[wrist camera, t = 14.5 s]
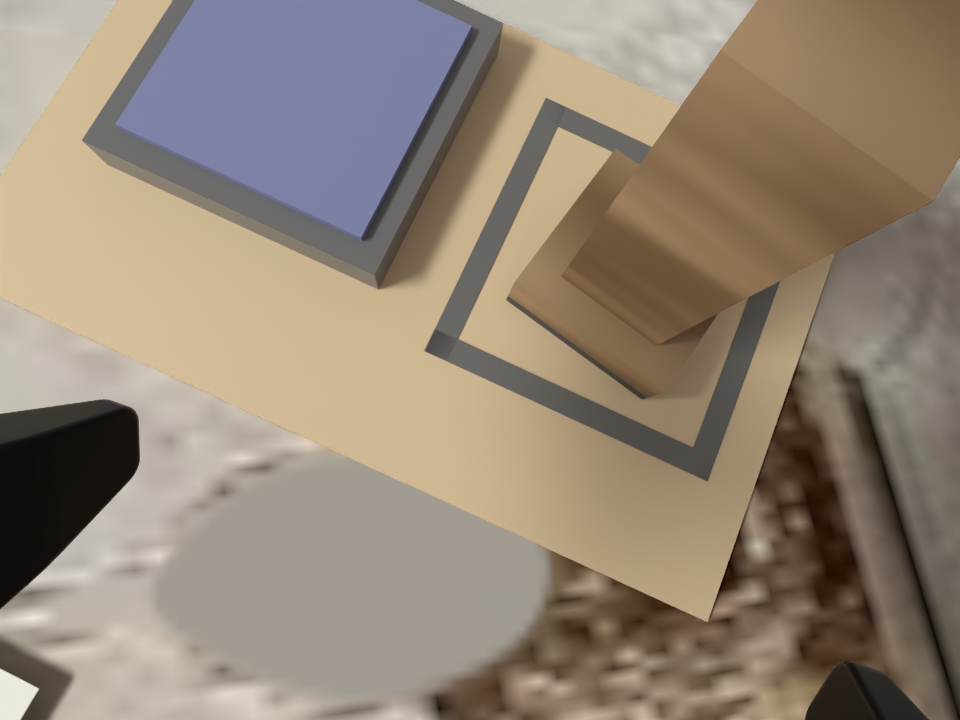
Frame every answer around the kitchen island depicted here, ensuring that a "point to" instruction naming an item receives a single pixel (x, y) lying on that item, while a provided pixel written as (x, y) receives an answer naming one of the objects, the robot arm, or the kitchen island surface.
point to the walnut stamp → (753, 179)
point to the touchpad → (14, 696)
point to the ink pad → (301, 116)
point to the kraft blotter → (425, 322)
